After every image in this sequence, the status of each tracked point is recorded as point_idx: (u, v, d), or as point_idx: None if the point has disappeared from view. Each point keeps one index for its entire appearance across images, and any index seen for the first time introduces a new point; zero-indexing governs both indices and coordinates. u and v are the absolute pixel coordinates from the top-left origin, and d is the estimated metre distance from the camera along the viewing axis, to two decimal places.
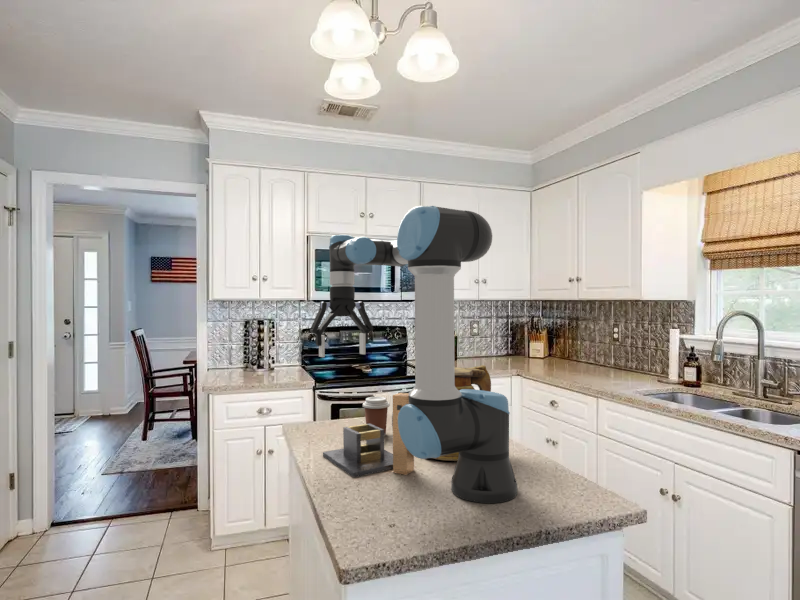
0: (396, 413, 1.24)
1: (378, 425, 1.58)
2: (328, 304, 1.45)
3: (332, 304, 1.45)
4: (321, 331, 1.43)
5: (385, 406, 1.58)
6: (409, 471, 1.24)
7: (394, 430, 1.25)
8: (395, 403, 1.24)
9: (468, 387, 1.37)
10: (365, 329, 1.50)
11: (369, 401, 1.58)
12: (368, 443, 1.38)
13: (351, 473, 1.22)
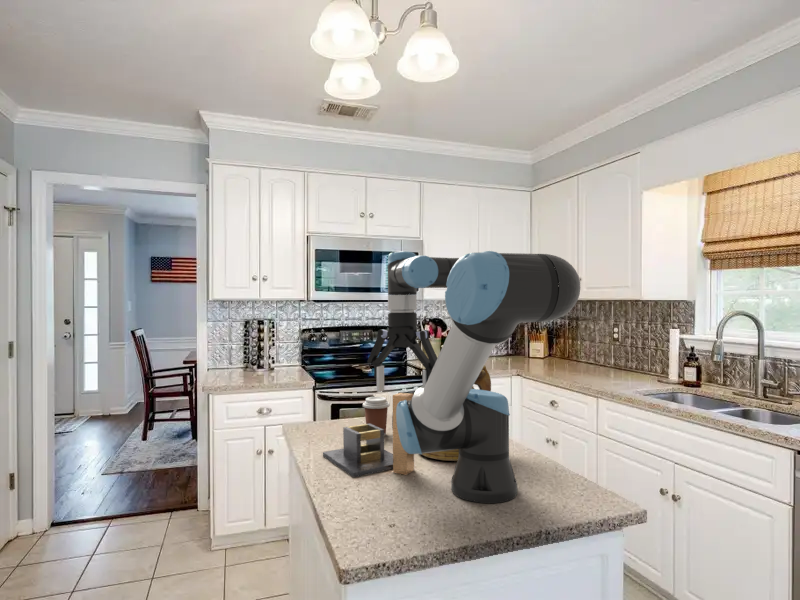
0: None
1: (378, 425, 1.58)
2: (385, 332, 1.28)
3: (388, 332, 1.27)
4: (376, 362, 1.28)
5: (385, 406, 1.58)
6: (409, 471, 1.24)
7: (394, 430, 1.25)
8: (395, 403, 1.24)
9: None
10: (425, 365, 1.21)
11: (369, 401, 1.58)
12: (368, 443, 1.38)
13: (351, 473, 1.22)
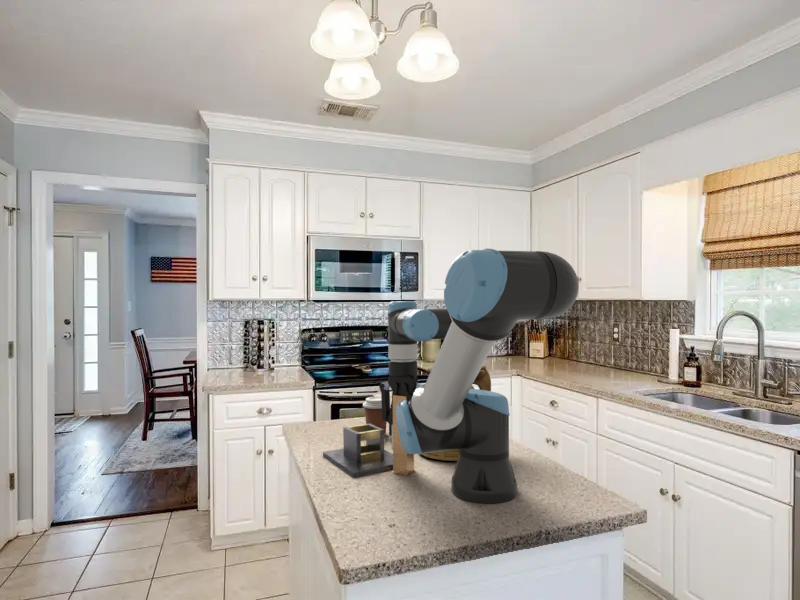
0: None
1: (378, 425, 1.58)
2: (386, 383, 1.27)
3: (388, 382, 1.27)
4: (390, 419, 1.26)
5: None
6: (409, 471, 1.24)
7: (394, 430, 1.25)
8: (395, 403, 1.24)
9: None
10: None
11: (369, 401, 1.58)
12: (368, 443, 1.38)
13: (351, 473, 1.22)
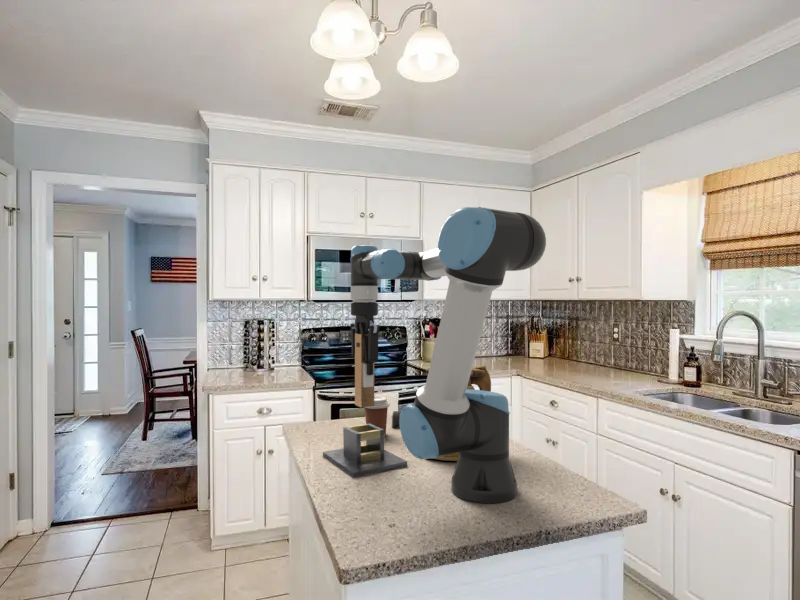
0: (356, 350, 1.34)
1: (378, 425, 1.58)
2: None
3: (355, 322, 1.37)
4: None
5: (385, 406, 1.58)
6: (366, 405, 1.32)
7: (355, 365, 1.35)
8: (356, 341, 1.34)
9: (468, 387, 1.37)
10: (365, 358, 1.31)
11: None
12: (368, 443, 1.38)
13: (351, 473, 1.22)
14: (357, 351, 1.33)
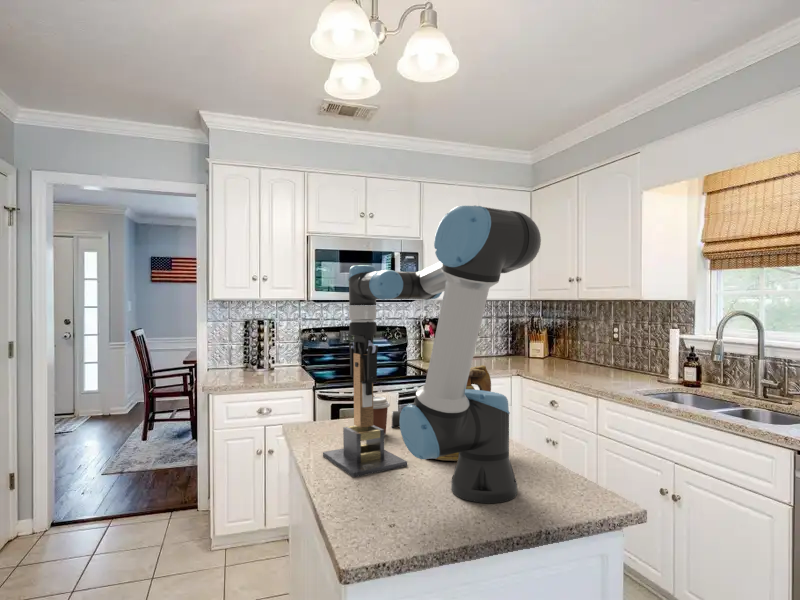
0: (355, 370, 1.34)
1: (378, 425, 1.58)
2: (354, 343, 1.38)
3: None
4: None
5: (385, 406, 1.58)
6: (365, 425, 1.32)
7: (354, 385, 1.35)
8: (354, 360, 1.34)
9: (468, 387, 1.37)
10: (364, 378, 1.31)
11: None
12: (368, 443, 1.38)
13: (351, 473, 1.22)
14: (356, 371, 1.33)
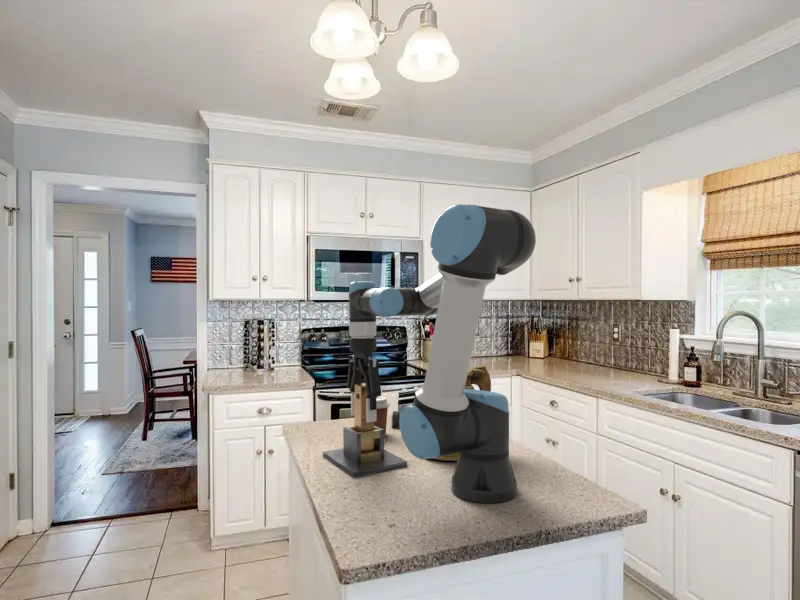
0: (356, 401, 1.33)
1: (378, 425, 1.58)
2: (354, 357, 1.38)
3: (353, 356, 1.37)
4: (350, 387, 1.38)
5: (385, 406, 1.58)
6: None
7: (355, 416, 1.34)
8: (356, 392, 1.34)
9: (468, 387, 1.37)
10: (368, 393, 1.29)
11: None
12: None
13: (351, 473, 1.22)
14: (357, 403, 1.33)
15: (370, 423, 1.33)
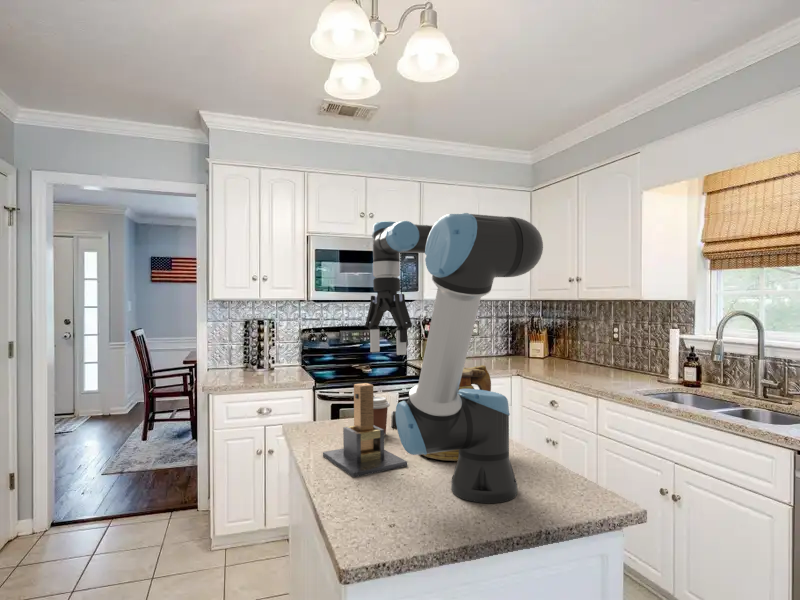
0: (355, 401, 1.34)
1: (378, 425, 1.58)
2: (376, 298, 1.39)
3: (376, 298, 1.38)
4: (370, 325, 1.40)
5: (385, 406, 1.58)
6: None
7: (354, 417, 1.34)
8: (355, 392, 1.34)
9: (468, 387, 1.37)
10: (398, 326, 1.28)
11: None
12: None
13: (351, 473, 1.22)
14: (357, 403, 1.33)
15: (370, 423, 1.33)
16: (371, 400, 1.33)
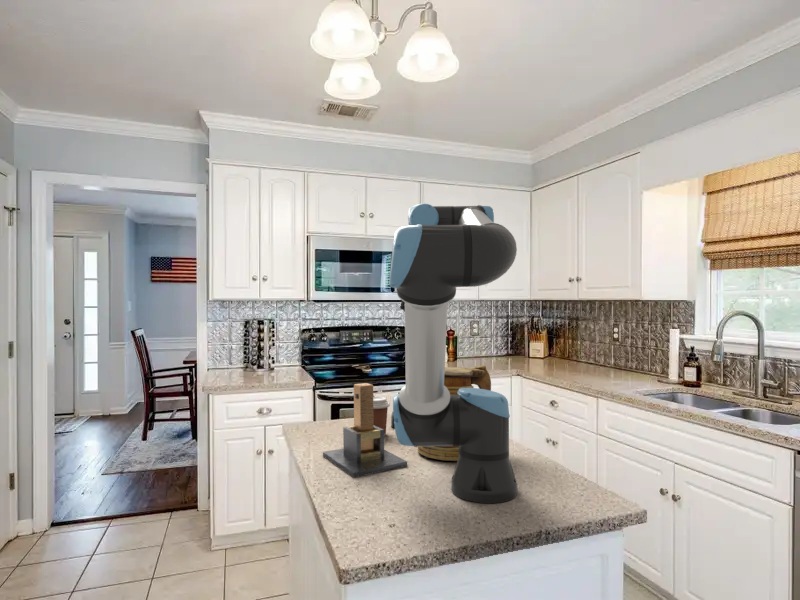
0: (355, 401, 1.34)
1: (378, 425, 1.58)
2: None
3: None
4: (405, 308, 1.43)
5: (385, 406, 1.58)
6: None
7: (354, 417, 1.34)
8: (355, 392, 1.34)
9: (468, 387, 1.37)
10: None
11: None
12: None
13: (351, 473, 1.22)
14: (357, 403, 1.33)
15: (370, 423, 1.33)
16: (371, 400, 1.33)
